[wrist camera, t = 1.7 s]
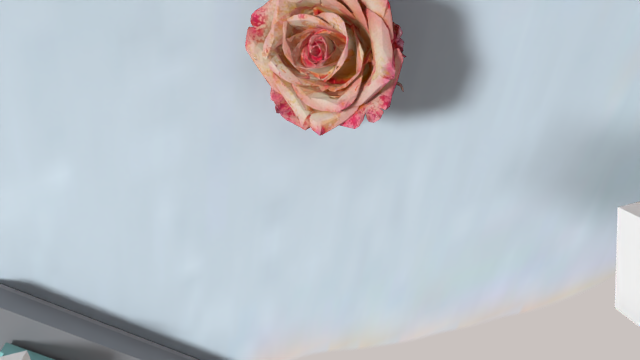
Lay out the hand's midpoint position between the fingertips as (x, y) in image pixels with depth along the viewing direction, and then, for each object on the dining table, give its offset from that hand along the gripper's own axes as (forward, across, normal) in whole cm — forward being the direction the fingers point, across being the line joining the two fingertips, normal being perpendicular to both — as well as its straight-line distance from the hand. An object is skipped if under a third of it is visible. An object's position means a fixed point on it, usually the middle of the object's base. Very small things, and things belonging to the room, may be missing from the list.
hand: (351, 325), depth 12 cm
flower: (+25, +4, +4) cm, 26 cm away
